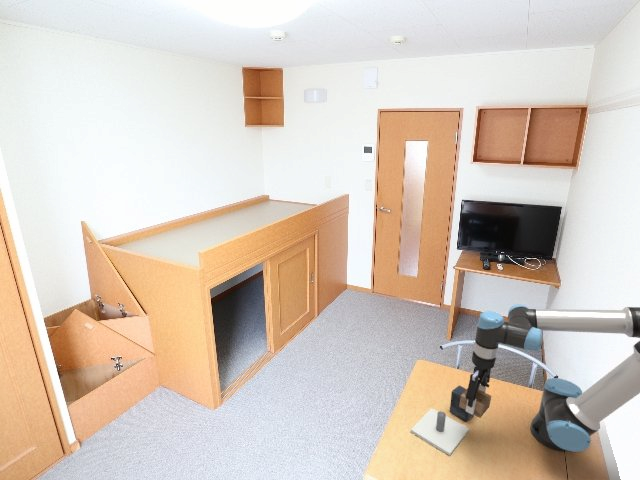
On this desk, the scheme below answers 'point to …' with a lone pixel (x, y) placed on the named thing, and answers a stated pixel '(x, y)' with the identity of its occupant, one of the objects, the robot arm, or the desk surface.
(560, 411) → the robot arm
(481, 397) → the collar
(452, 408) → the box
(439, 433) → the thin white baseboard
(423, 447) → the desk surface
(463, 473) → the desk surface
